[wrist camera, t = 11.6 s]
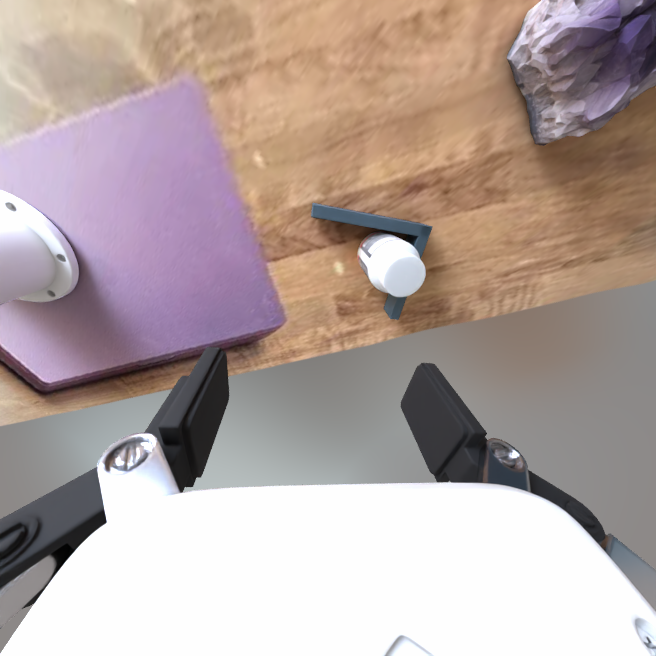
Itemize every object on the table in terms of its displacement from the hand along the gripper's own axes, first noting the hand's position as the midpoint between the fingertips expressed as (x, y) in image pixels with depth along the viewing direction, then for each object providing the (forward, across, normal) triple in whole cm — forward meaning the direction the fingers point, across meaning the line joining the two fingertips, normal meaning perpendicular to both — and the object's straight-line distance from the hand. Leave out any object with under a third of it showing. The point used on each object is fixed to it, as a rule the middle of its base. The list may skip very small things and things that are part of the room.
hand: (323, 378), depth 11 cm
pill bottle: (+21, -8, -2) cm, 23 cm away
